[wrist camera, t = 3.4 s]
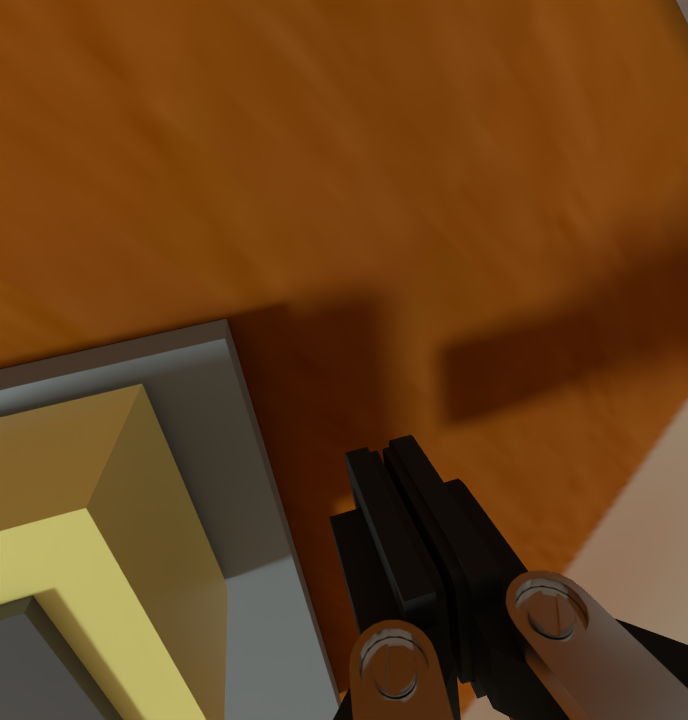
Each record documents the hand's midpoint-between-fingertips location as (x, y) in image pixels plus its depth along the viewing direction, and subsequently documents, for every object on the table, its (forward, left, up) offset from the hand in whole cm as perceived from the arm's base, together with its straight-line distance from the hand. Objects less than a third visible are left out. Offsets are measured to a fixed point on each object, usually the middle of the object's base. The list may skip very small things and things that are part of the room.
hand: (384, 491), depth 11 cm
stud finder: (+7, 0, -2) cm, 7 cm away
